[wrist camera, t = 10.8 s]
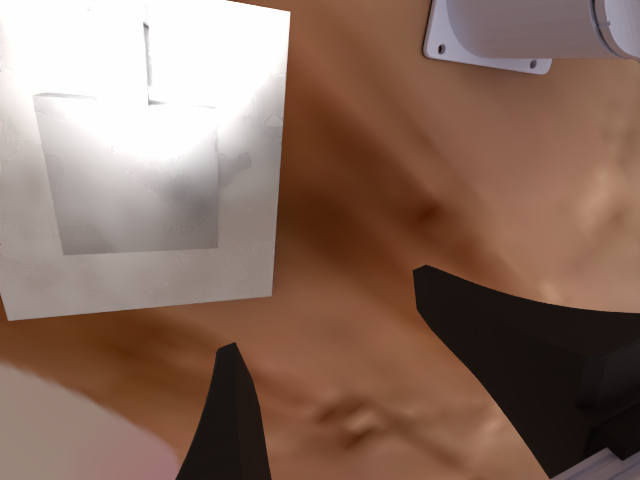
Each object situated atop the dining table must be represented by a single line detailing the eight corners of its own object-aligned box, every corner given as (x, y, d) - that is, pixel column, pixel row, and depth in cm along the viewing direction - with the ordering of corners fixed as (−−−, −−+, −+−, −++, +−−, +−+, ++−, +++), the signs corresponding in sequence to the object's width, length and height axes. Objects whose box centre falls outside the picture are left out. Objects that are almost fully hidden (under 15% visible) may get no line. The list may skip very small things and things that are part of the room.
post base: (286, 13, 18) (318, 0, 14) (269, 289, 25) (287, 337, 21) (-87, -51, 13) (-209, -101, 9) (14, 311, 20) (-31, 380, 16)
